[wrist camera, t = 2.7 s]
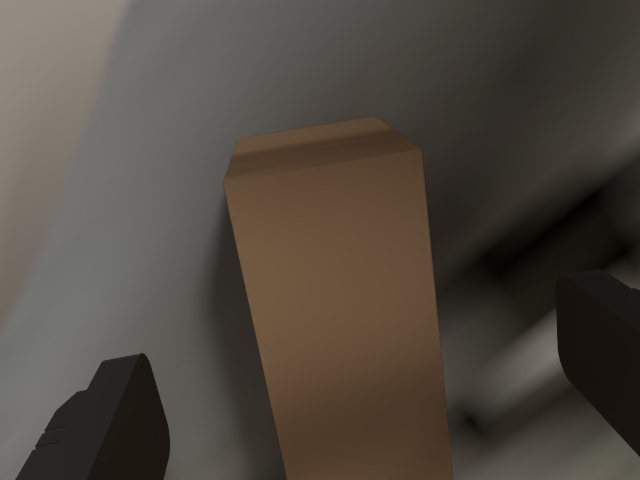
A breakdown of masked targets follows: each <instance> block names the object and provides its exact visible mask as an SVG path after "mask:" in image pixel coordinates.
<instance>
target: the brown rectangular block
mask: <svg viewBox="0 0 640 480" xmlns="http://www.w3.org/2000/svg"><path fill="white" fill-rule="evenodd" d="M223 186H224V190H225V195H226V200H227V204H228V209H229V214H230V218H231V223H232V227H233V232H234V237H235V241H236V246H237V251H238V255H239V260H240V264H241V269H242V274H243V278H244V283H245V288H246V292H247V297H248V301H249V306H250V311H251V315H252V320H253V324H254V329H255V334H256V338H257V343H258V348H259V352H260V357H261V361H262V366H263V371H264V375H265V380H266V385H267V389H268V394H269V398H270V403H271V408H272V412H273V417H274V422H275V426H276V431H277V435H278V440H279V445H280V449H281V454H282V458H283V463H284V468H285V472H286V477H287V480H453V471H452V461H451V451H450V440H449V430H448V419H447V409H446V399H445V388H444V378H443V367H442V357H441V347H440V336H439V326H438V315H437V305H436V295H435V284H434V274H433V263H432V253H431V243H430V232H429V222H428V211H427V201H426V191H425V180H424V170H423V159H422V149H421V148H419V147H418V146H416V145H415V144H414V143H412V142H411V141H409V140H408V139H407V138H405V137H404V136H403V135H401V134H400V133H398V132H397V131H396V130H394V129H393V128H391V127H390V126H389V125H387V124H386V123H385V122H383V121H382V120H380V119H379V118H378V117H376V116H370V117H364V118H358V119H352V120H346V121H341V122H335V123H329V124H323V125H317V126H311V127H305V128H299V129H293V130H287V131H281V132H275V133H269V134H263V135H257V136H251V137H245V138H239V139H238V141H237V143H236V146H235V149H234V152H233V155H232V158H231V161H230V164H229V167H228V170H227V172H226V175H225V178H224V181H223Z"/></svg>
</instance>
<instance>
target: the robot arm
mask: <svg viewBox="0 0 640 480" xmlns="http://www.w3.org/2000/svg"><path fill="white" fill-rule="evenodd" d="M556 310H557V339H558V354H559V358H560V362H561V365H562V368H563V370H564V372H565V374H566V376H567V378H568V379H569V380H570V382H571V383H572V384H573V385H574V386H575V387H576V388H577V389H578V390H579V391H580V393H581V394H582V395H583V396H584V397H585V398H586V399H587V400H588V401H589V402H590V403H591V404H592V406H593V407H594V408H595V409H596V410H597V411H598V412H599V413H600V414H601V415H602V416H603V417H604V419H605V420H606V421H607V422H608V423H609V424H610V425H611V426H612V427H613V428H614V429H615V431H616V432H617V433H618V434H619V435H620V436H621V437H622V438H623V439H624V440H625V441H626V442H627V444H628V445H629V446H630V447H631V448H632V449H633V450H634V451H635V452H636V453H637V454H638V456H639V457H640V290H638V289H634V288H633V289H631V288H629V287H628V286H626V285H625V284H623V283H622V282H620V281H619V280H617V279H616V278H614V277H612V276H611V275H609V274H608V273H606V272H605V271H603V270H600V269H599V270H593V271H588V272H582V273H577V274H571V275H566V276H561V277H560V278H559V279H558V281H557V284H556ZM35 447H36V449H35V450H33V451H32V452H31V454H30V456H29V457H28V459H27V461H26V463H25V464H24V466H23V468H22V469H21V471H20V473H19V474H18V476H17V478H16V479H15V480H163V479H164V475H165V471H166V467H167V463H168V459H169V453H170V436H169V429H168V424H167V420H166V416H165V413H164V410H163V406H162V403H161V399H160V396H159V392H158V389H157V386H156V382H155V379H154V375H153V372H152V368H151V365H150V362H149V360H148V358H147V356H146V355H145V354H143V353H142V354H137V355H131V356H126V357H121V358H115V359H110V360H105V361H103V362H102V363H101V364H100V366H99V368H98V370H97V372H96V374H95V375H94V377H93V379H92V381H91V383H90V385H89V387H88V388H87V390H84V391H79V392H76V393H75V394H74V395H73V396H72V397H71V398H70V399H69V400H67V401H66V402H65V403H64V404H63V405H62V406H61V407H60V408H58V409H57V410H56V412H55V413H54V415H53V417H52V419H51V420H50V422H49V424H48V425H47V427H46V429H45V433H43V434H42V435H41V437H40V439H39V441H38V442H37V444H36V446H35Z"/></svg>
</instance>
